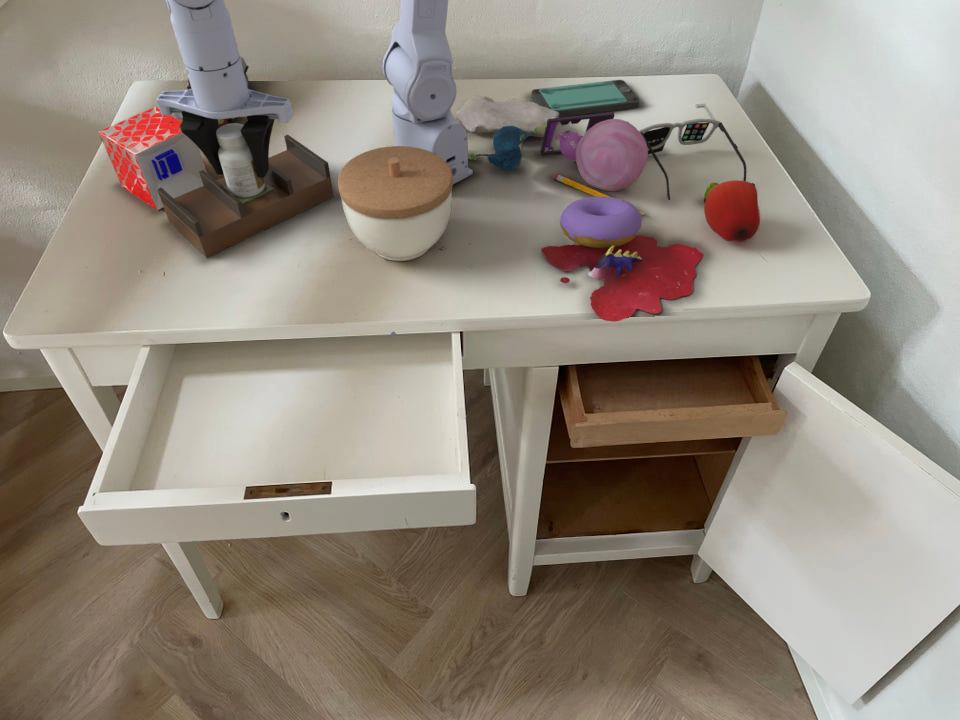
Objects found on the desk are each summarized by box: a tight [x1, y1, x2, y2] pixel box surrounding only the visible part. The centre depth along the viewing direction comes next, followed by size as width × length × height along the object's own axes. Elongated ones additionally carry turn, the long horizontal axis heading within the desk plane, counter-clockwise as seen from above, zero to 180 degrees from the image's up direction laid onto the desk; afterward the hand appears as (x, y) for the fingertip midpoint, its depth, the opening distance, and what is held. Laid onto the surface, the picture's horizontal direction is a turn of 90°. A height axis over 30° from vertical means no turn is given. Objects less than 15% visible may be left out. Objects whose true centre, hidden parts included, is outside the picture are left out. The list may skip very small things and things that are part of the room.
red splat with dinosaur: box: [540, 234, 704, 323], centre depth 81 cm, size 18×15×5 cm
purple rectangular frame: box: [540, 111, 616, 162], centre depth 95 cm, size 7×5×9 cm
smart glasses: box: [638, 103, 748, 201], centre depth 95 cm, size 12×14×5 cm
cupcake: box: [575, 118, 649, 192], centre depth 91 cm, size 9×9×10 cm
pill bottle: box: [216, 122, 265, 198], centre depth 84 cm, size 4×4×8 cm
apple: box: [703, 179, 761, 242], centre depth 85 cm, size 8×7×10 cm
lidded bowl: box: [337, 145, 454, 262], centre depth 81 cm, size 13×13×11 cm
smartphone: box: [530, 79, 641, 118], centre depth 107 cm, size 7×1×15 cm
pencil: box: [553, 173, 645, 215], centre depth 91 cm, size 1×13×1 cm, turn 52°
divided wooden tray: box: [157, 134, 335, 259], centre depth 87 cm, size 9×18×5 cm, turn 133°
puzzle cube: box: [98, 106, 208, 211], centre depth 90 cm, size 8×8×8 cm
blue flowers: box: [468, 121, 547, 171], centre depth 95 cm, size 12×4×8 cm
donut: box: [559, 196, 643, 248], centre depth 83 cm, size 10×9×5 cm
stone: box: [456, 95, 560, 138], centre depth 101 cm, size 11×3×15 cm
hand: (243, 171), depth 85 cm, fingers closed on pill bottle, 4 cm apart
